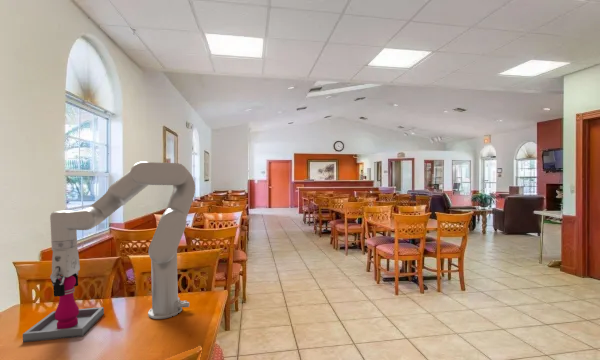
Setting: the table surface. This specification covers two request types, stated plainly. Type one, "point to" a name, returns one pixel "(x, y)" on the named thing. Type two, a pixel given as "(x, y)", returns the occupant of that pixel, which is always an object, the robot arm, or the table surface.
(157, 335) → the table surface
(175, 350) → the table surface
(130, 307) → the table surface
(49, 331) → the serving tray
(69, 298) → the pepper mill
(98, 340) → the table surface
